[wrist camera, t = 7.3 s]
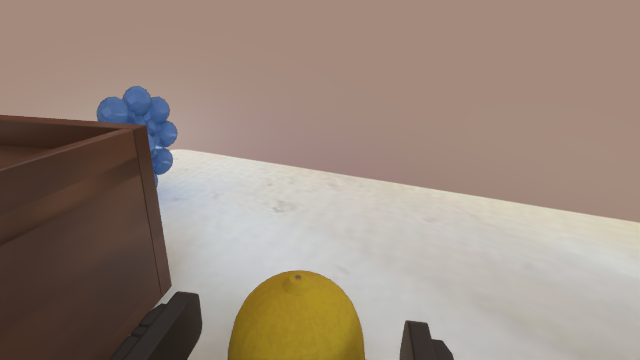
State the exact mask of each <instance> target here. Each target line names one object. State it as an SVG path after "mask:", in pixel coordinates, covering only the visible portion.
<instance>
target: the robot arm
mask: <svg viewBox="0 0 640 360" xmlns="http://www.w3.org/2000/svg"><path fill="white" fill-rule="evenodd" d="M201 331H202V317H201V308H200V300H199V295H198V294H196V293H188V292H180V291H178V292H176V293H175V294H174V295H173V297H172V298H171V299H170V300H169V302H168V303H167V304H162V303H161V304H160V305H159V306H157V307H156V308H154V309H153V310H151V311H150V312H148V313H147V315H146V316H145V317H144V318H143V319H142V320H141V322H140V323H139V325H138V326H136V328H135V329H134V330H133V331H132V332H131V335H130V336H128V337H127V338H126V339H125V341H124V342H123V343H122V344H121V345H120V346H119V348H118V349H117V350H116V351H115V352H114V354H113V355H112V356H111V357H110V358H109V359H108V360H187V358H188V357H189V355H190V353H191V352H192V350H193V348H194V347H195V345H196V343H197V341H198V340H199V337H200V334H201ZM400 360H454V358H453V355H452V353H451V352H450V350H449V349H448V348H447V346H446V345H445V344H444V342H443V341H442V340H434V339H431V335H430V331H429V327H428V324H427V323H424V322H416V321H408V320H406V321H405V325H404V331H403V337H402V343H401V349H400Z"/></svg>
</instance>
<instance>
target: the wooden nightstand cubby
mask: <svg viewBox="0 0 640 360" xmlns="http://www.w3.org/2000/svg"><path fill="white" fill-rule="evenodd" d="M170 287H171V279H170V273H169V267H168V260H167V254H166V247H165V241H164V235H163V228H162V222H161V215H160V209H159V203H158V196H157V190H156V183H155V177H154V171H153V164H152V158H151V151H150V145H149V139H148V132H147V126H146V125H140V124H125V123H111V122H95V121H81V120H67V119H51V118H37V117H23V116H8V115H0V360H108V359H109V358H110V357H111V356H112V355H113V354H114V352H115V351H116V350H117V349H118V348H119V346H120V345H121V344H122V343H123V342H124V341H125V339H126V338H127V337H128V336H129V335H130V334H131V332H132V331H133V330H134V329H135V328H136V326H138V325H139V323H140V322H141V320H142V319H143V318H144V317H145V316H146V315H147V313H148V312H150V311H151V309H152V308H153V307H154V306H155V305H156V304H157V302H158V301H159V300H160V299H161V297H163V295H164V294H165V293H166V292H167V291H168V289H169V288H170Z"/></svg>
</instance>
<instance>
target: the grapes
mask: <svg viewBox="0 0 640 360" xmlns="http://www.w3.org/2000/svg"><path fill="white" fill-rule="evenodd" d="M169 112H170V109H169V106H168V104H167V102H166V101H165V100H164V99H162V98H160V97H152V98H151V97H150V94H149V93H148V92H147V90H146V89H144V88H142V87H140V86H133V87H131V88H129V89H128V90H126V92H125V94H124V96H123V99H119V98H117V97H108V98H106V99H105V100H103V101H102V102H101V103H100V105H99V107H98V109H97V118H98V122H111V123H125V124H140V125H146V126H147V132H148V139H149V145H150V151H151V158H152V164H153V171H154V177H155V183H156V187H157V185H158V178H157V175H160V174H164V173H165V172H167V171H168V170H169V169H170V167H171V166H172V163H173V157H172V154H171V153H170V151H169V150H168V149H165V148H163V147H168V146H170V145H171V144H173V143H174V141H175V140H176V138H177V130H176V127H175V126H174V124H173V123H171V122H169V121H166V119H167V118H168V116H169ZM156 174H157V175H156Z"/></svg>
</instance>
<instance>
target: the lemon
mask: <svg viewBox="0 0 640 360" xmlns="http://www.w3.org/2000/svg"><path fill="white" fill-rule="evenodd" d="M228 360H365V353H364V341H363V333H362V328H361V324H360V321H359V318H358V316H357V313H356V311H355V308H354V306H353V304H352V302H351V301H350V299H349V298H348V296H347V295H346V294H345V293H344V291H343V290H342V289H341V288H340V287H339V286H338V285H336V284H335V283H334V282H332V281H331V280H330V279H328V278H326V277H324V276H322V275H320V274H317V273H313V272H310V271H301V270H300V271H288V272H283V273H280V274H278V275H275V276H273V277H271V278H269V279H267V280H266V281H264V282H263V283H261V284H260V285H259V286H258V287H256V288H255V289H254V290H253V291H252V292H251V293H250V294H249V296H248V297H247V298H246V300H245V301H244V303H243V305H242V307H241V308H240V310H239V312H238V314H237V316H236V319H235V322H234V326H233V330H232V335H231V339H230V343H229V349H228Z"/></svg>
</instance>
